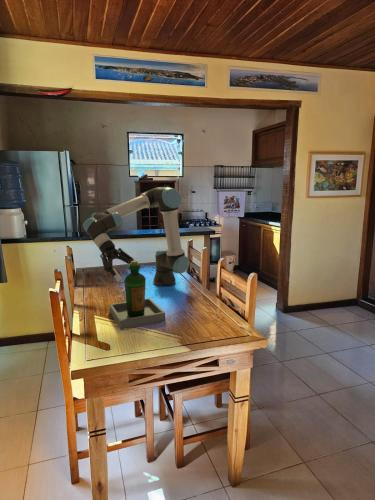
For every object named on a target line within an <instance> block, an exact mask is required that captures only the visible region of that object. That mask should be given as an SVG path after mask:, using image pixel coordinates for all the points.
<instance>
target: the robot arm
mask: <svg viewBox="0 0 375 500" xmlns="http://www.w3.org/2000/svg"><path fill="white" fill-rule="evenodd" d="M181 202H182V196H181V194H180V192H179V191H178V190H177V188H173V187H159V186H158V187H155V188H152V189H149V190H147V191H144V192H142V193H140V195H139V196H136V197H134V198H132V199H130V200H128V201H125V202H122V203H120V204H118V205H115V206H112V207H110V208H107V209H105V210H102V211H100V212H99V211H98V212H94V213H92V214H91V216H90V217H89V218H88V219H86V220H85V221H84V222H83V224H82V228H83V229H84V231H85V232H86V234H87V235H88V236H89V238H91V240H92V242H93V243H94V244H95V246H96V247H97V248H98V249H99V251H100V253H101V254H100V255H99V257H100V258H101V261H102V265H103V266H102V267H103V270H104V271H105V272H107V273H110V274H111V275H112V276H113V277H114V279H115V280H116V281H117V282H118V283H119V282H120V281H121V280H122V279H123V278H122V277H121V275H120V274H119V272H118V271H117V270H116V269H115V267H113V263H114V262H113V261H114V260H120V261H122V262H124V263H126V264H128V267H129V266H130V263H131V261H135V259H134V258H133V257H132V256H130V255H129V254H128V253H126V252H125V251H124V250H123V249H122V248H121V247H119V248H118V249H116V245H115V243H114V242H113V240H111V238H110V237H109V235H108V234H107V232H110V231H112V230H113V229H115V228H117V227H119V226H120V225H122V224H123V219H122V218H125V217H126V216H129V215H131V214H133V213H136V212H138V211H141V210H143V209H145V208H146V209H150V208H152V207H158V211H159V213H161V214H162V219H163V226H164V232H165V238H166V239H165V240H166V245H167V248H166V249H165V248H164V249H158V250H156V251H155V255H154V257H155V274H154V277H153V284H154V285H155V286H159V287H163V286H164V287H169V286H173V285H175V284H176V282H177V281H176V276H175V274H179V275H181V274H183V273H185V272H186V271H187V270H188V268H189V266H190V259H189V257H188V256H186V253H185V250H184V249H183V248H182V241H181V236H180V228H179V227H180V226H179V221H178V213H177V212H178V210H179V206H180V204H181Z"/></svg>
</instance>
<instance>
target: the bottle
mask: <svg viewBox="0 0 375 500" xmlns="http://www.w3.org/2000/svg"><path fill="white" fill-rule="evenodd" d="M128 269H129V271H130V273H128V274H127V275H126V276H125V278H124V279H123V280H124V281H123V282H124V292H125V302H126V304H127V315H128V316H130V317H139V316H142V315H144V310H145V299H146V283H147V282H146V276H145V275H143V274H142V273H140V269H141V266H140V263H139V261H138V260H133V261H131V263H130V266H128Z"/></svg>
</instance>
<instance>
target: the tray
mask: <svg viewBox="0 0 375 500" xmlns="http://www.w3.org/2000/svg"><path fill="white" fill-rule="evenodd" d="M108 309H109V314H110V315H111V317H112V319H113V321H114V322H115V323H116V326H117V327H118V328H119V330H120V331H122V330H126V329H127V330H128V329H132V328H138V327H143V326H148V325H153V324H157V323H158V324H159V323H163V322H166V311H164V309H162V308H161V307H160V306H159V305H158V304H157V303H156V302H155V301H154V300H152V299H151V297H149V298H148V297H147V298H145V310H144V315H142V316H139V317H130V316H128V315H127V304H126V301H123V302H116V303H111V304H109V307H108Z"/></svg>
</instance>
